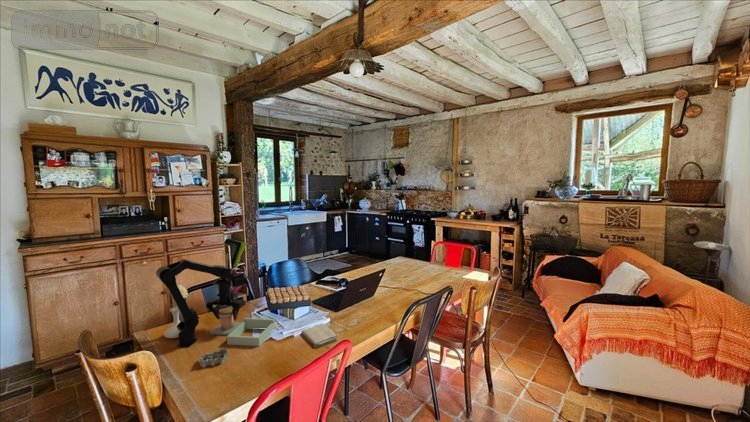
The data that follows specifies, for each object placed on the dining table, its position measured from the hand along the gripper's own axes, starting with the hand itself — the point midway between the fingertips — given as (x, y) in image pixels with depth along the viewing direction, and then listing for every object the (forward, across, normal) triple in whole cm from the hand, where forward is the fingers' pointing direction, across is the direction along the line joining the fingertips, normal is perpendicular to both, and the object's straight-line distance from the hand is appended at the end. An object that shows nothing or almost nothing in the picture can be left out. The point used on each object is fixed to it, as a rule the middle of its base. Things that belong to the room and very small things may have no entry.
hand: (227, 319), depth 163 cm
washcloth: (+6, -50, +3) cm, 51 cm away
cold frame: (+5, -17, +6) cm, 19 cm away
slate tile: (+5, 0, 0) cm, 5 cm away
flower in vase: (+5, +22, +7) cm, 24 cm away
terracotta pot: (+4, 0, 0) cm, 4 cm away
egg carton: (+6, -11, +27) cm, 30 cm away
